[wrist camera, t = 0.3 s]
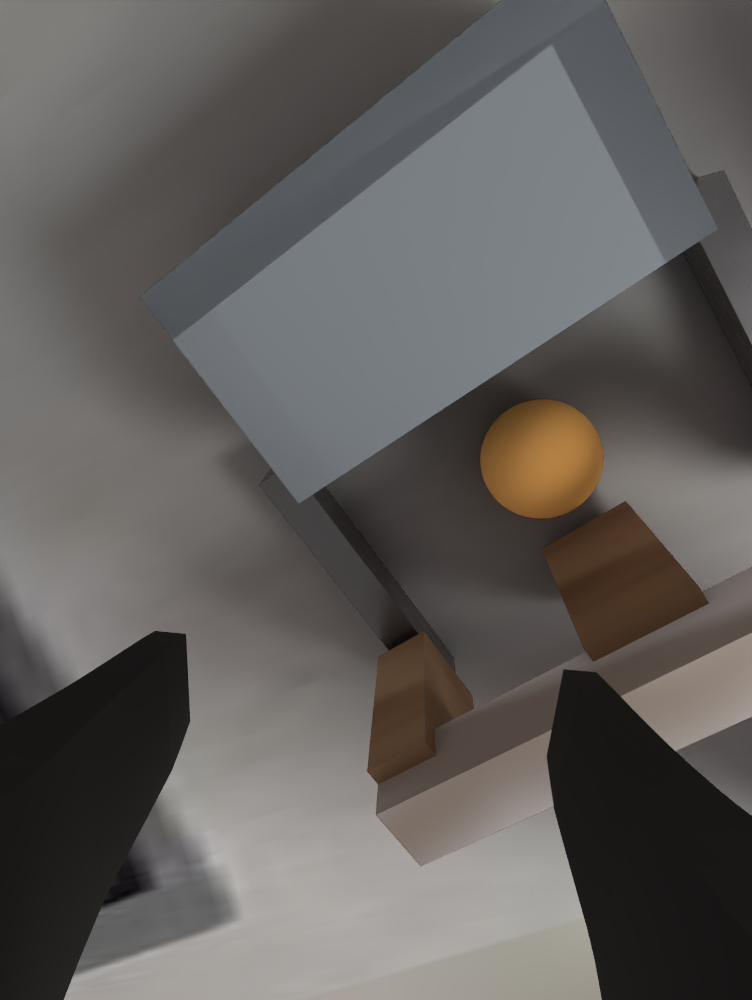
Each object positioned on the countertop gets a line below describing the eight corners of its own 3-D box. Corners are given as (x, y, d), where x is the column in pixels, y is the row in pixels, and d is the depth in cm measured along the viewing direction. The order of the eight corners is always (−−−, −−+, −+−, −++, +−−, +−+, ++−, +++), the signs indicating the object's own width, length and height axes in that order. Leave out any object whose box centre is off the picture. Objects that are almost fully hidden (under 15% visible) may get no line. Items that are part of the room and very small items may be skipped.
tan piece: (866, 468, 19) (1103, 580, 13) (427, 700, 23) (431, 878, 17) (827, 386, 19) (1057, 458, 12) (380, 640, 23) (364, 801, 16)
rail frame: (834, 453, 20) (865, 467, 19) (426, 673, 24) (426, 698, 22) (699, 176, 18) (723, 170, 16) (269, 469, 21) (259, 484, 20)
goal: (644, 236, 18) (718, 228, 14) (323, 451, 21) (298, 503, 17) (533, 25, 17) (576, -62, 12) (202, 288, 20) (139, 297, 15)
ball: (609, 424, 20) (646, 457, 17) (543, 513, 21) (566, 558, 18) (516, 367, 20) (535, 389, 17) (454, 461, 21) (461, 498, 18)
